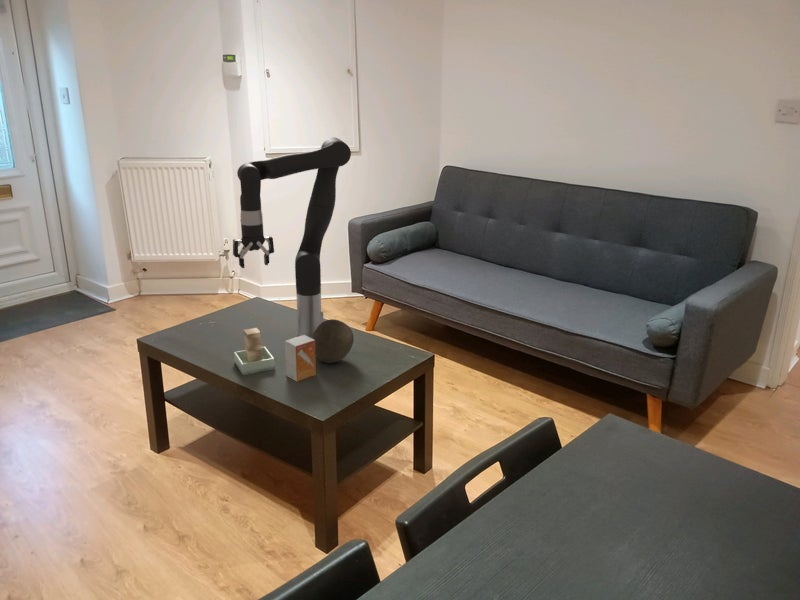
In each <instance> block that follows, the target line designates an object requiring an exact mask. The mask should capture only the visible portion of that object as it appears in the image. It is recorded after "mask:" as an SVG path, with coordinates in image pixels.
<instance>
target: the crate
mask: <svg viewBox="0 0 800 600" xmlns="http://www.w3.org/2000/svg"><path fill="white" fill-rule="evenodd" d="M261 349H262V360H260V361H255V362H250V363H247V362H246V354H245V349H244V350H239V351H234V352H233V355H234V357H233V359H234V363H235V365H236V367H237V368H238V369H239V372H240V373H241V374H242V375H243V376H246V375H251V374H255V373H256V374H257V373H261V371H262V372H266V371H272V370H275V368H276V367H275V357H274V356H273V355H272V353H271V352H270V351H269V350H268V348H267V347H266V346H261Z"/></svg>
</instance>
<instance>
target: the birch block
mask: <svg viewBox="0 0 800 600" xmlns="http://www.w3.org/2000/svg"><path fill="white" fill-rule="evenodd" d="M243 336H244V350H245V354H246V362H247V363H250V362H255V361H260V360H262V349H261V347H262V336H261V331H260V330H259V329H258V327H252V328H247V329H243Z"/></svg>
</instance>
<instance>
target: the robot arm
mask: <svg viewBox="0 0 800 600" xmlns="http://www.w3.org/2000/svg"><path fill="white" fill-rule="evenodd" d="M351 155H352V151H351V148H350V146H349V145H348V144H347V143H346V142H345V141H343V140H342V139H339V138H337V137H334V136H333V137H332V136H331V137H329V138H327V139H325V140H324V141H323V143H322V144H321V146H320V148H319V149H317V150H313V151H308V152H300V153H298V152H297V153H290V154H283V155H280V156H276V157H272V158H268V159H263V160H255V161H250V162H246V163H243V164H241V165H240V166H239V167H238V169H237V172H236V173H237V178H238V179H239V183H240V193H241V194H240V195H239V196H240V197H239V200H240V201H239V203H240V204H239V205H240V227H241V239H235V238H234V239H232V255H233V256H234V257H235V258H238V265H239V266H240V267H241V269H245V258H244V257H245V256H246V254H247V253H248V252H249V251H250V252H252V251H259V250H261V251H262V252H263V263H264V265H265V266H269V264H270V254H274V253H275V248H274V247H275V245H274V239H273V237H272V236H271V235H267V236H264V235H265V234H264V221H263V219H264V218H263V217H264V216H263V212H262V199H261V198H262V197H261V192H262V191H261V187H262V181H265V180H267V179H268V180H275V179H279V178H283V177H288V176H291V175H294V174H295V175H296V174H299V173H303V172H308V171H314V170H317V172H316V177H315V180H314V183H313V187H312V191H311V195H310V198H309V201H308V204H307V205H308V206H307V210H306V215H305V216H306V217H305V223H304V230H303V231H304V232H303V236H302V240H301V242H300V245H299V248H298V251H297V253H296V256H295V261H294V270H295V273H294V274H295V276H294V277H295V290H296V292H295V294H296V313H297V314H296V315H297V317H296V319H297V335H298V336H302V335H306V336H308V337H310V338H312V339H313V334H314V332H315V330H316V328H317V327H318V326H319V325H320V324H321V323H322V322H324V320H325V319H324V311H323V310H322V283H321V282H322V280H321V277H322V276H321V275H322V273H321V271H322V269H321V251H322V243H323V240H324V237H325V235H326V233H327V231H328V228H329V226H330V224H331V221H332V217H333V214H334V211H335V206H336V199H337V198H336V196H337V195H336V193H337V191H336V189H337V187H336V186H337V175H338V171H339V168H340V167H343V166H345V165H347V164H348V162H349V161H350V159H351ZM265 241H266V243H267V244H268V249H266V246H264V243H265ZM241 244H242V245H243V246H242V247H241V249H240V251H239V246H240V245H241Z"/></svg>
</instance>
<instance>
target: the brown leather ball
mask: <svg viewBox="0 0 800 600" xmlns="http://www.w3.org/2000/svg"><path fill="white" fill-rule="evenodd" d="M354 337H355V335H354V333H353V331H352V328H351V327H350V326H349V325H348V324H347V323H345V322H343V321H341V320H339V319H327V320H325V321H324V322H322V323H321V324H320V325H319V326H318V327H317V328H316V330H315V332H314V334H313V338H312V339H314V340H315V358H317V359H318V360H319V361H321V362H323V363H326V364H333V363H336V362H339V361H341V360H342V359H344V358H345V357H346V356H347V355H348V354H349V353H350V351H351V349H352V347H353V344H354Z"/></svg>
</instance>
